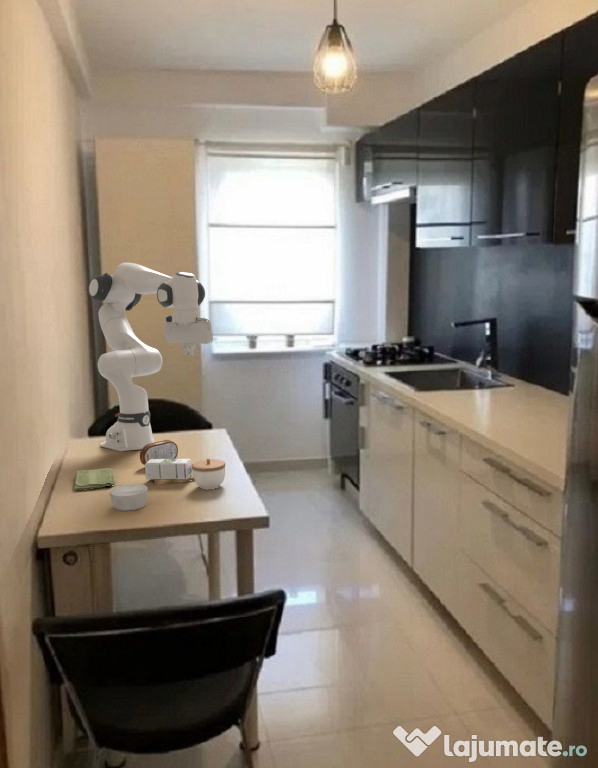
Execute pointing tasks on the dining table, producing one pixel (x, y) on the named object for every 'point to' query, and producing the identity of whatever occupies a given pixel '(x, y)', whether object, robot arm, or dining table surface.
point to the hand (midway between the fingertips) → (189, 355)
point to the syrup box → (168, 469)
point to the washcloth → (93, 479)
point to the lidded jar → (209, 473)
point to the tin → (159, 451)
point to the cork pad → (171, 480)
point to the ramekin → (129, 497)
